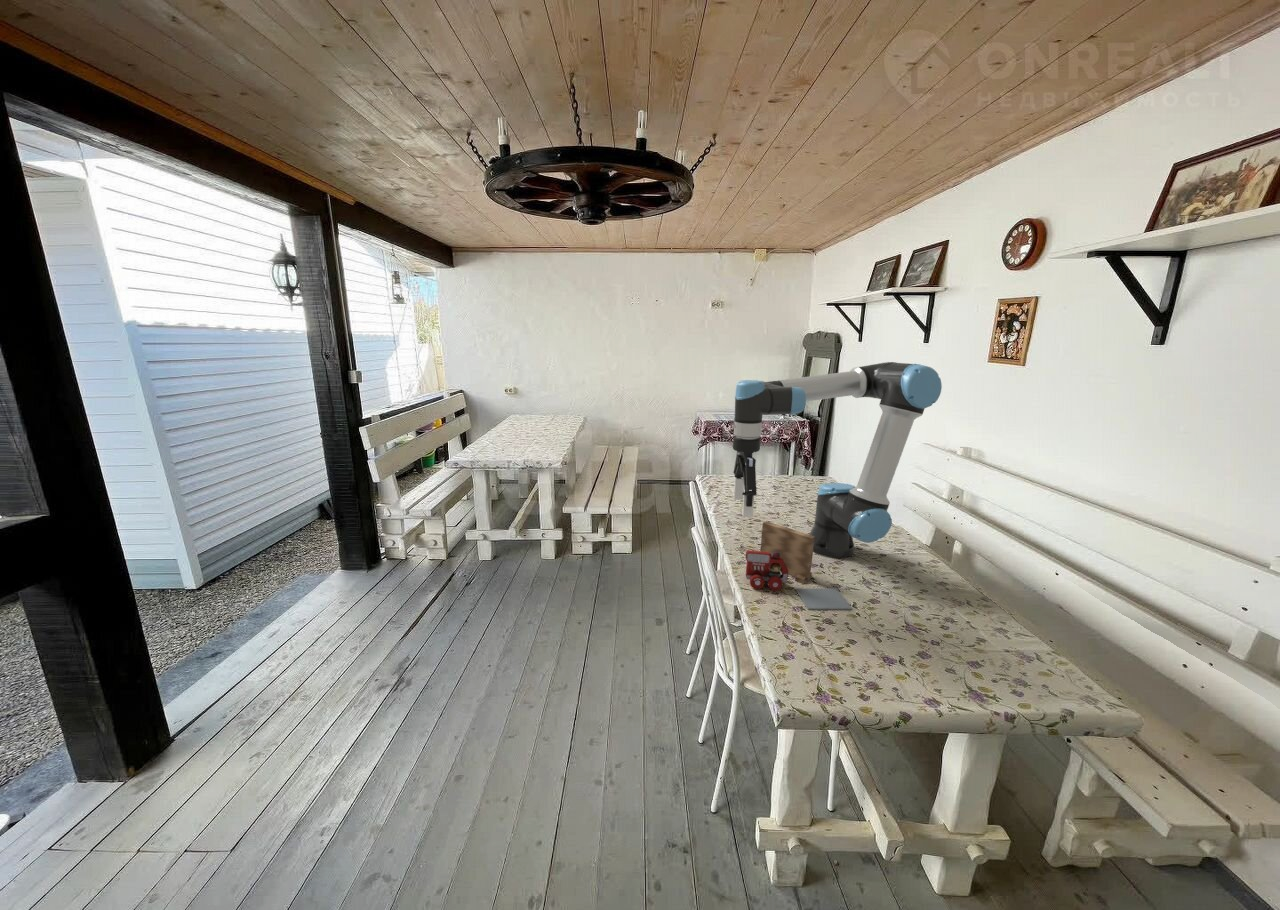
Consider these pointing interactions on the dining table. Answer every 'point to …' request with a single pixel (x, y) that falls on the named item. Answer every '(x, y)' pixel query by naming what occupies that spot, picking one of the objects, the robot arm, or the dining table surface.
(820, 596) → the mat
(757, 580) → the toy fire truck
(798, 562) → the screen
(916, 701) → the dining table surface
